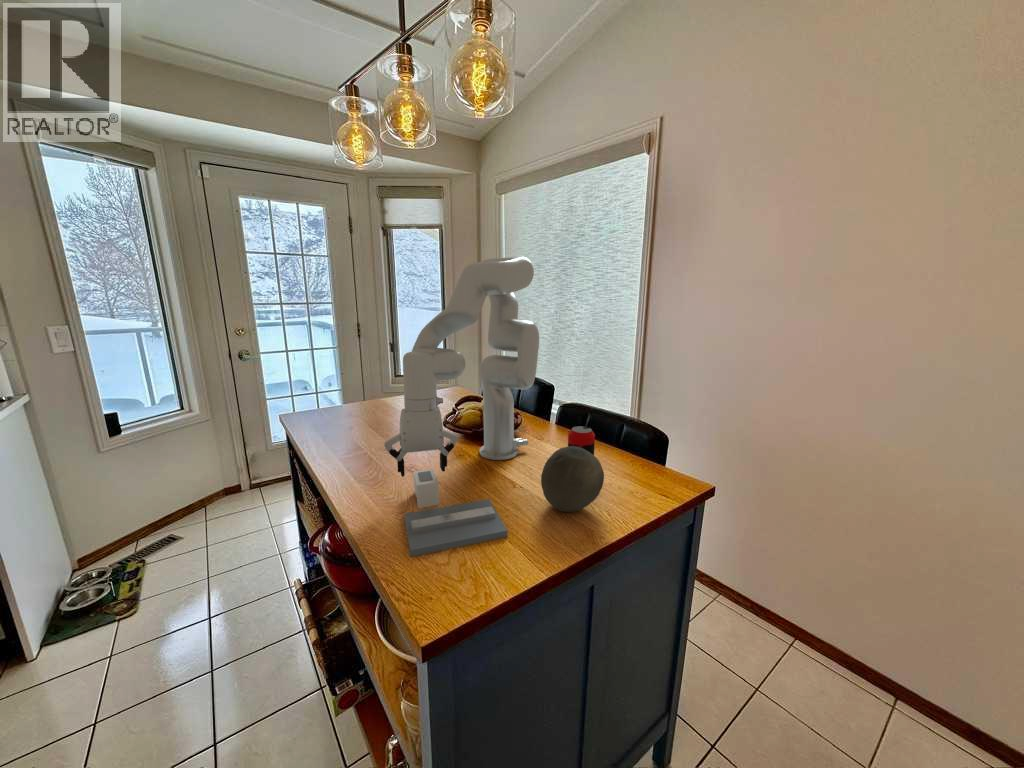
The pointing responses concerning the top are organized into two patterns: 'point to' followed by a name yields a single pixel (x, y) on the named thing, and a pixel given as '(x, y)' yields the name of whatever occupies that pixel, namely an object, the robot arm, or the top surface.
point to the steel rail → (452, 519)
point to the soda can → (582, 438)
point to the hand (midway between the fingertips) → (422, 471)
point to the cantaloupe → (571, 479)
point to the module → (426, 488)
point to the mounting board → (453, 529)
